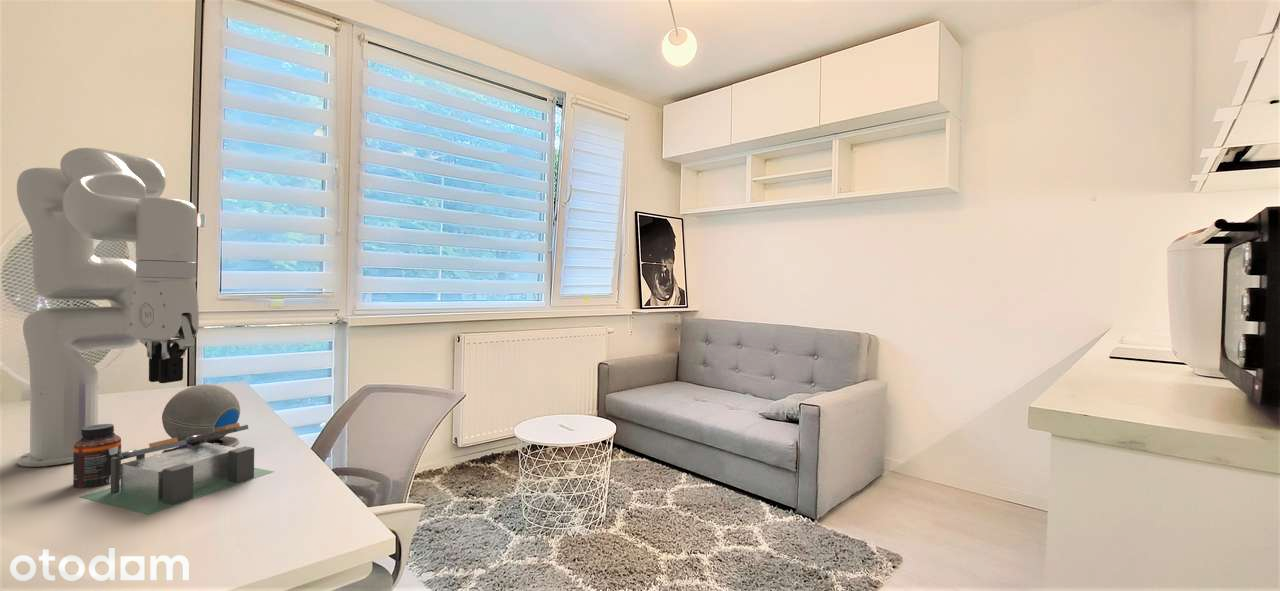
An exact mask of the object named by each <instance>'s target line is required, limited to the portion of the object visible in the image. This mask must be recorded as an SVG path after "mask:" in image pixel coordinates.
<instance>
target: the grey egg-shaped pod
mask: <svg viewBox="0 0 1280 591" xmlns="http://www.w3.org/2000/svg"><path fill="white" fill-rule="evenodd" d="M240 414H241V407H240V403H239V400H238V399H237V396H235V394H233V393H232V392H231V391H230V390H229V389H227V388H225V387H222V386H220V385H215V384H198V385H193V386H190V387H187V388H184V389H183V390H181V391H179V392H177V393H176V394H175V395H174V396H172V397H171V399H170V400H169V401H168V402H167V403H166V405H165V407H164V408H163V411H162V414H161V420H162V421H161V422H162V426H163V429H164V431H165V433H166V434H167V435H168V437H170V439H171V438H176V437H177V439H178V441H181V440H185V438H186V437H190V436H194V435H199V434H200V435H203V434H208V433H212V432H215V428H219V427H223V426H227V425H232V424H236V423H239V422H238V421H239V419H240ZM227 435H228V434H224V435H220V436H215V437H210V438H207V443H211V444H217V443H219V444H218V445H223V446H228V447H234V448H236V447H237V446H238V445H239V444H240V440H239V438H236V437H233V436H227ZM197 444H200V441H196V442H192V443H188V444H187V447H190V446H193V445H197ZM178 449H179V446H177V447H173V448H169V449H164V450H161V451H162V452H161V454H162V453H166V452H170V451H174V450H178Z"/></svg>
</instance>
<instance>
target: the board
mask: <svg viewBox="0 0 1280 591" xmlns="http://www.w3.org/2000/svg"><path fill="white" fill-rule="evenodd" d="M205 442H206V443H207V438H206V439H201V440H200V444H201V443H205ZM186 443H187V441H186ZM186 447H187V444H185V445H181V446H179V449H182V448H186ZM237 448H238V449H234V450H230V451H228V479H226V480H223V481H220V482H217V483H214V484H211V485H208V486H205V487H202V488H199V489H196V490H193V465H190V464H185V463H183V464H180V465H176V466H173V467H169V468H165V469H163V500H162V501H159V502H158V501H153V500H149V499H145V498H141V497H137V496H133V495H128V494H124V493H121V479H120V458H119V457H113V458H111V484H110V487H109V488H106V489H101V490H98V491H95V492H91V493H87V494H84V495H80V496H79V498H81V499H84V500H89V501H93V502H97V503H100V504H104V505H108V506H112V507H116V508H120V509H124V510H129V511H131V512H136V513H140V514H143V515H151V514H153V513H156V512H160V511H162V510H167V509H170V508H172V507H174V506H177V505H181V504H183V503H187V502H190V501H192V500H195V499H198V498H202V497H205V496H207V495H210V494H213V493H216V492H218V491H222V490H224V489H225V490H226V489H228V488H230V487H234V486H236V485H239V484H243V483H245V482H248V481H251V480H252V481H253V480H254V479H257V478H260V477H264V476H266V475H269V474H272V473H274V472H275V471H274V470H268V469H263V468H260V467H259V468H257V467H255V447H250V446H242V447H237ZM142 458H146V454H141V455H137V456H135V460H138V459H142Z"/></svg>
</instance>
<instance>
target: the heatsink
mask: <svg viewBox="0 0 1280 591" xmlns="http://www.w3.org/2000/svg"><path fill="white" fill-rule="evenodd" d="M238 448H239V447H228V446H223V445H219V444H218V443H213V444H211V443H206V442H205V443H201V444H197V445H193V446H190V447H186V448H182V449H178V450H174V451H170V452H166V453H162V452H161V453H157V454H154V455H152V456H150V455H149V456H145V458H142V459H138V460H136V459H135V460H131V461H127V462H123V463H122V462H121V479H120V485H121V493H124V494H128V495H133V496H137V497H141V498H145V499H149V500H153V501H158V502H159V501H162V500H163V469H165V468H169V467H173V466H176V465H180V464H183V463H185V464H190V465H193V490H196V489H199V488H202V487H205V486H208V485H211V484H214V483H217V482H220V481H223V480H226V479H228V451H230V450H234V449H238Z"/></svg>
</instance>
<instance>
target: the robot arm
mask: <svg viewBox="0 0 1280 591" xmlns="http://www.w3.org/2000/svg"><path fill="white" fill-rule="evenodd" d="M59 165H60V168H55V167H54V168H53V167H32V168H28V169H25V170H24V171H22V172H20V174H19V176H18V178H17V181H16V194H17V195H16V196H17V200H18V203H19V206H20V209H21V211H22V212H23V215H24V217H25V219H26V220H27V222H28V225H29V228H30V231H31V237H32V269H33V270H32V272H33V273H32V274H33V285H34V289H35V292H36V294H38V296H39V297H41V298H44V299H46V300H52V301H107V302H109V304H110V306H58V307H49V308H48V307H47V308H42V309H38V310H36V311H33V312H31V313H30V314H29V315H27V316H26V317H25V319H24V321H23V324H22V332H23V338H24V342H25V346H26V350H27V355H28V365H29V452H28V453H24V454H23V455H21V456H19V457H18V458H17V465H19V466H21V467H28V468H29V467H31V468H34V467H35V468H36V467H49V466H58V465H59V466H60V465H65V464H70V463H73V453H74V451H73V448H74V444H75V443H76V442H77V441H78V440H80V439H82V437H83V436H82V435H81V434H82V428H84V427H88V426H92V425H99V373H98V370H97V368H96V366H95V365H94V364H93V362H90V361H89V360H88V359H87V358H85V357H84V356H83V355H82V354H81V353H86V352H91V351H95V352H96V351H105V350H118V349H120V350H121V349H128V348H132V347H135V346H137V345H138V344H139V343H140V344H142V345H144V346H145V348H146V356H147V358H148V382H150V383H156V382H158V383H159V384H167V383H168V384H169V383H174V382H181V381H183V379H184V358H185V357H186V351H187V350H188V349H189V348H191V347H193V346H194V345H195V340H194V338H196V337H197V336H198V333H199V325H200V324H199V322H200V321H199V320H200V319H199V316H200V314H199V313H200V312H199V302H198V301H199V300H198V292H197V287H196V282H197V244H198V242H197V241H198V240H197V239H198V237H197V235H198V234H197V233H198V231H197V230H198V229H197V228H198V214H197V213H198V211H197V208H196V206H195V205H194V204H193V203H192V202H189V201H186V200H183V199H176V198H169V197H161V195H162V194H163V193H164V191H165V189H166V183H167V180H166V174H165V171H164V169H163V168H162V166H161V165H160V164H159V163H158V162H156V161H155V160H153V159H151V158H149V157H145V156H139V155H135V154H129V153H123V152H118V151H112V150H108V149H107V150H106V149H101V148H95V147H79V148H75V149H71V150H69V151H67V152H66V153H65V154H64V155H63V156H62V157H61V160H60V164H59ZM94 240H98V241H108V242H126V243H127V242H128V243H129V242H130V243H135V262H133V261H132V260H130V259H127V258H121V257H111V256H110V257H109V256H108V257H107V256H105V257H104V256H103V257H102V256H97V255H96V254H95V251H94V243H95V242H94Z"/></svg>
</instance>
